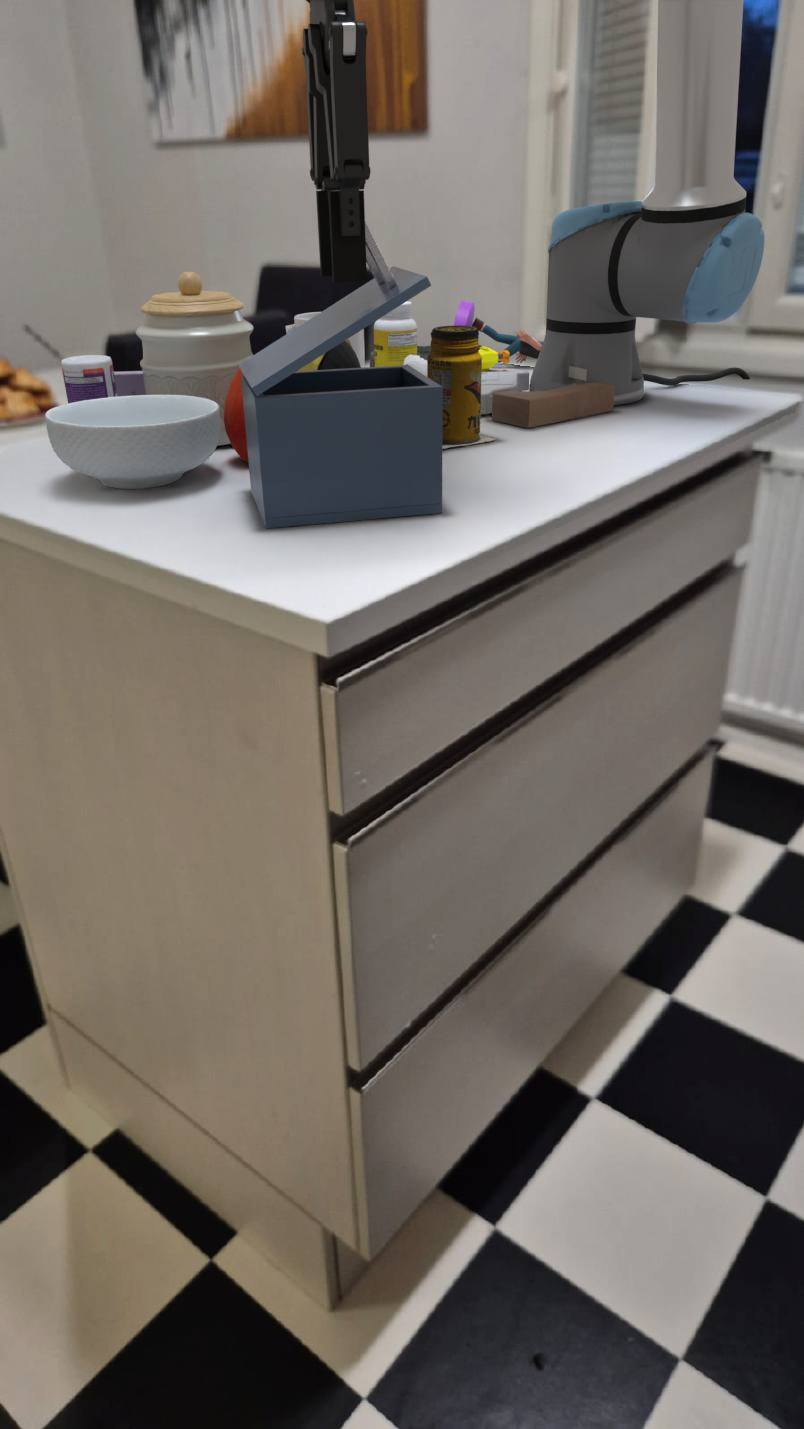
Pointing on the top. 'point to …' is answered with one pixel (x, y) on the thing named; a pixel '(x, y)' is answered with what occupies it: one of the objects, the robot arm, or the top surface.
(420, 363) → the pincushion
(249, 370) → the lid
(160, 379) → the jar
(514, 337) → the figurine
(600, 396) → the wooden block
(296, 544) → the top surface
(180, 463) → the cereal bowl
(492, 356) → the toy figure
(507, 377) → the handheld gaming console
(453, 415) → the condiment
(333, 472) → the blue-grey open box
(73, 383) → the pill bottle
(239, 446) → the apple
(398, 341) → the pill bottle
